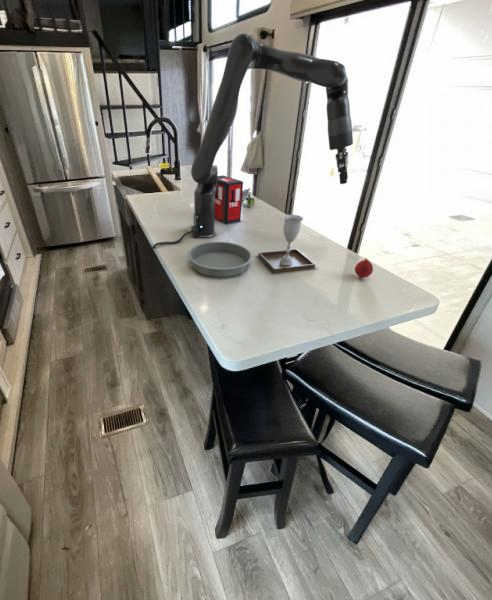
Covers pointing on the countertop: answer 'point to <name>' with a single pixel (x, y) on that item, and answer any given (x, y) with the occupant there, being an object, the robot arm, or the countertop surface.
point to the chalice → (290, 234)
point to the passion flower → (245, 197)
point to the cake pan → (219, 258)
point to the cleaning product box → (228, 199)
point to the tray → (275, 266)
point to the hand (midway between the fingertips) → (344, 181)
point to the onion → (364, 268)
